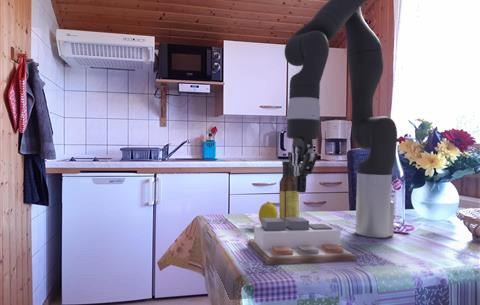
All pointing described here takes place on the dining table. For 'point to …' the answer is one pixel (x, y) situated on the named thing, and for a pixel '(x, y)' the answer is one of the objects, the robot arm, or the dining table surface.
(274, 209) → the lemon
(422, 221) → the dining table surface
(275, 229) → the button
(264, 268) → the dining table surface
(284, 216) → the sauce bottle
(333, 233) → the switch housing
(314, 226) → the button
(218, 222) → the dining table surface
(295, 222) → the button
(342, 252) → the switch base
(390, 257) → the dining table surface
